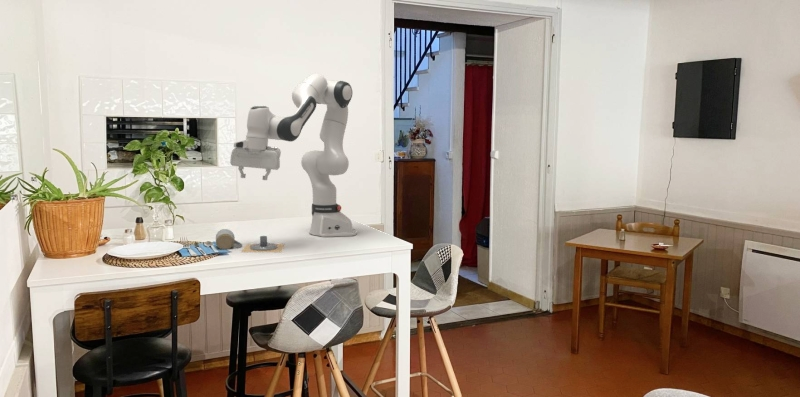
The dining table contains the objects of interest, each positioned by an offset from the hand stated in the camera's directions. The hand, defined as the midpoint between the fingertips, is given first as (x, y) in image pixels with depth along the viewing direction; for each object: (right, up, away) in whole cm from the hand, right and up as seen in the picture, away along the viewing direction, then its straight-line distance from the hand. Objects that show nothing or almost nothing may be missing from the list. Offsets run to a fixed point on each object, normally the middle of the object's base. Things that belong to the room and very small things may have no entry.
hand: (253, 179), depth 252 cm
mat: (+3, -29, +3) cm, 29 cm away
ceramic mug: (-12, -29, +4) cm, 31 cm away
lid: (+3, -29, +3) cm, 29 cm away
